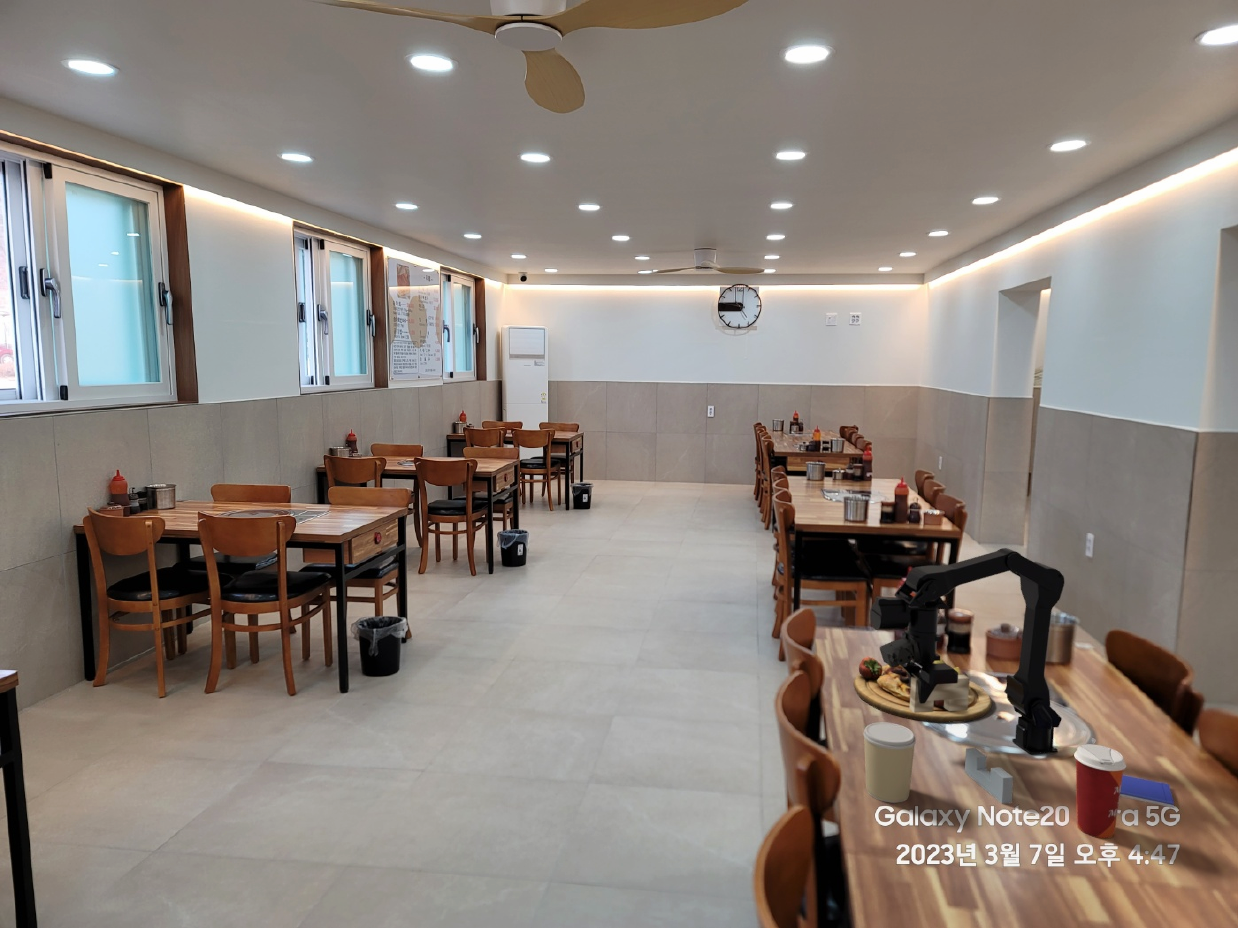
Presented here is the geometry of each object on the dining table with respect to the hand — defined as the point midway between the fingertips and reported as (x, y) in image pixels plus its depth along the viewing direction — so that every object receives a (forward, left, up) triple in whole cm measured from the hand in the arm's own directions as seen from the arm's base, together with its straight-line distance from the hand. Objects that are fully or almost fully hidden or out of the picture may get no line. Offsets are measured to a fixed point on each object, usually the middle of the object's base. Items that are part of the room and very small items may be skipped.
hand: (919, 700), depth 167 cm
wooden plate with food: (-16, -28, -12) cm, 34 cm away
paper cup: (-16, +32, -11) cm, 37 cm away
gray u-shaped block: (-6, +16, -11) cm, 20 cm away
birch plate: (-4, 0, -2) cm, 5 cm away
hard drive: (-33, +21, -12) cm, 40 cm away
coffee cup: (+14, +15, -11) cm, 24 cm away
